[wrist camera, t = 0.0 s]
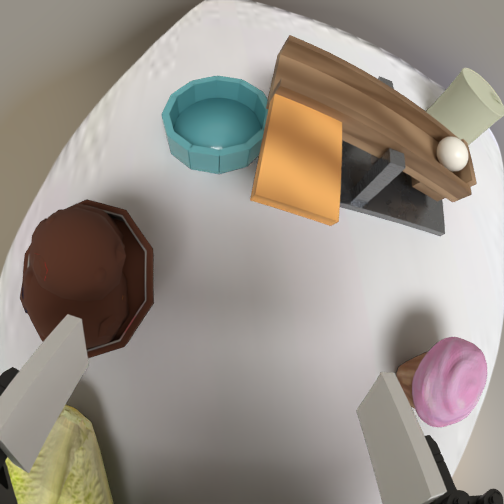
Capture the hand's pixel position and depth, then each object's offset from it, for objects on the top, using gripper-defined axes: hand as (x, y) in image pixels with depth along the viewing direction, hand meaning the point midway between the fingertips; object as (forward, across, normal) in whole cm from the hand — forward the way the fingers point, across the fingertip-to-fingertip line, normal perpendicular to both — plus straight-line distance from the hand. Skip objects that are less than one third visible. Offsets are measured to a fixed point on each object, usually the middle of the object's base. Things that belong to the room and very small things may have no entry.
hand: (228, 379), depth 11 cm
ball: (+19, -21, -14) cm, 32 cm away
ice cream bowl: (+14, +11, +7) cm, 19 cm away
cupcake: (+12, -21, +10) cm, 26 cm away
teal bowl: (+26, +5, -10) cm, 28 cm away
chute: (+20, -11, -9) cm, 24 cm away
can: (+34, -29, -21) cm, 50 cm away
